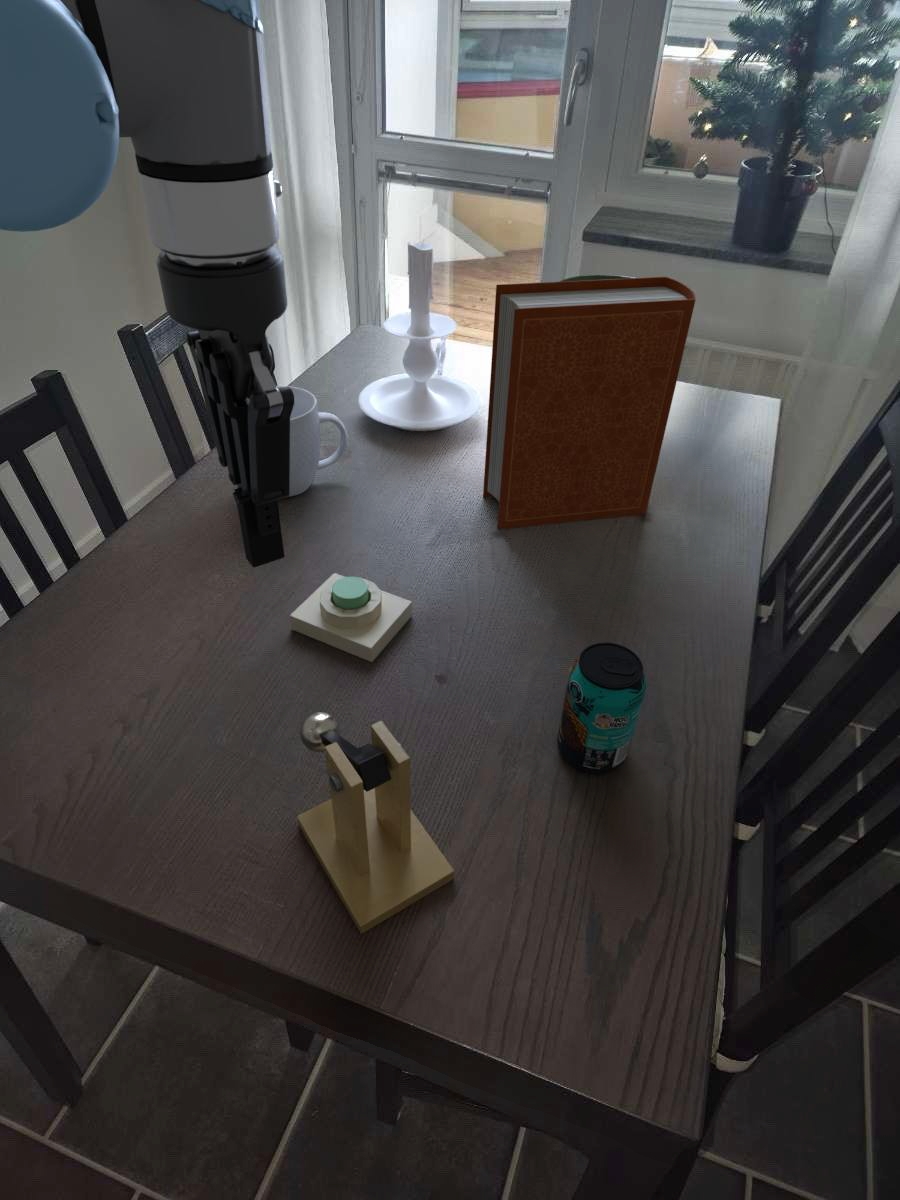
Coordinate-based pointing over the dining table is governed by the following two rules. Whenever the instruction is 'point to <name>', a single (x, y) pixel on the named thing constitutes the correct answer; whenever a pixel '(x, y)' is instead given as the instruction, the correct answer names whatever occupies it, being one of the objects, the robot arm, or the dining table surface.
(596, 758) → the beverage can
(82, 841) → the dining table surface
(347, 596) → the light button
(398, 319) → the candlestick
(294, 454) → the mug
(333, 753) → the switch bracket
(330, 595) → the switch box
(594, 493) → the book
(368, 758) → the switch lever
